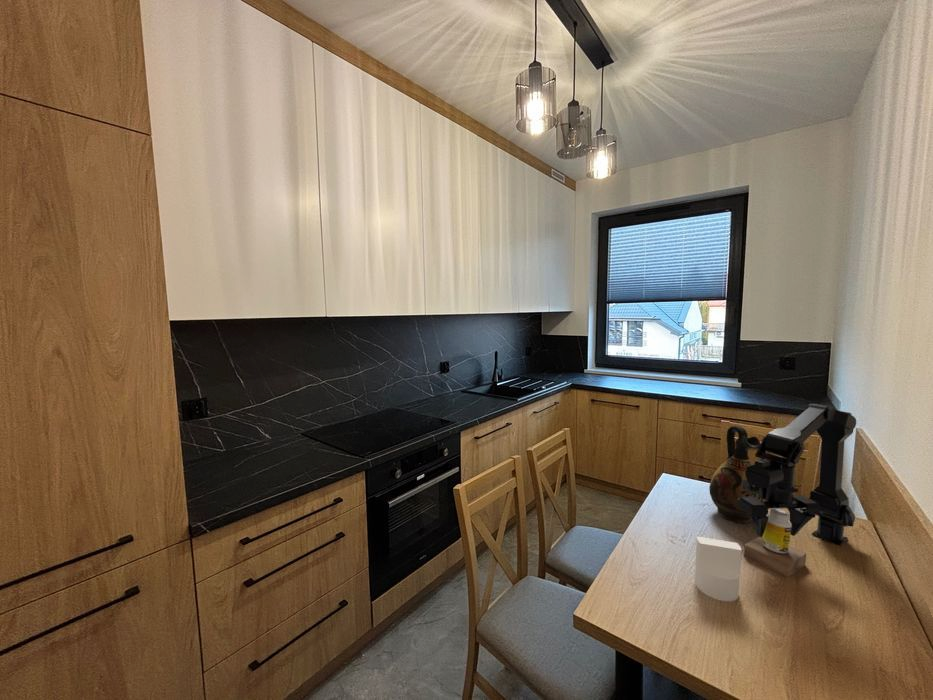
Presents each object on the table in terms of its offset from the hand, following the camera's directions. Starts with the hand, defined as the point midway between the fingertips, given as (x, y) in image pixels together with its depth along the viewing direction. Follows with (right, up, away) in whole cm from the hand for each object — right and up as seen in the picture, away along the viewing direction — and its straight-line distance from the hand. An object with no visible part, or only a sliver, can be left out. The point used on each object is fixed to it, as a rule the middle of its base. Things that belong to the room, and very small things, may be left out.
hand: (775, 535), depth 102 cm
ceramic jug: (+6, -5, +25) cm, 26 cm away
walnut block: (0, -8, +1) cm, 8 cm away
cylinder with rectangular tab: (-23, -9, -10) cm, 26 cm away
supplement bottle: (0, -4, 0) cm, 4 cm away
